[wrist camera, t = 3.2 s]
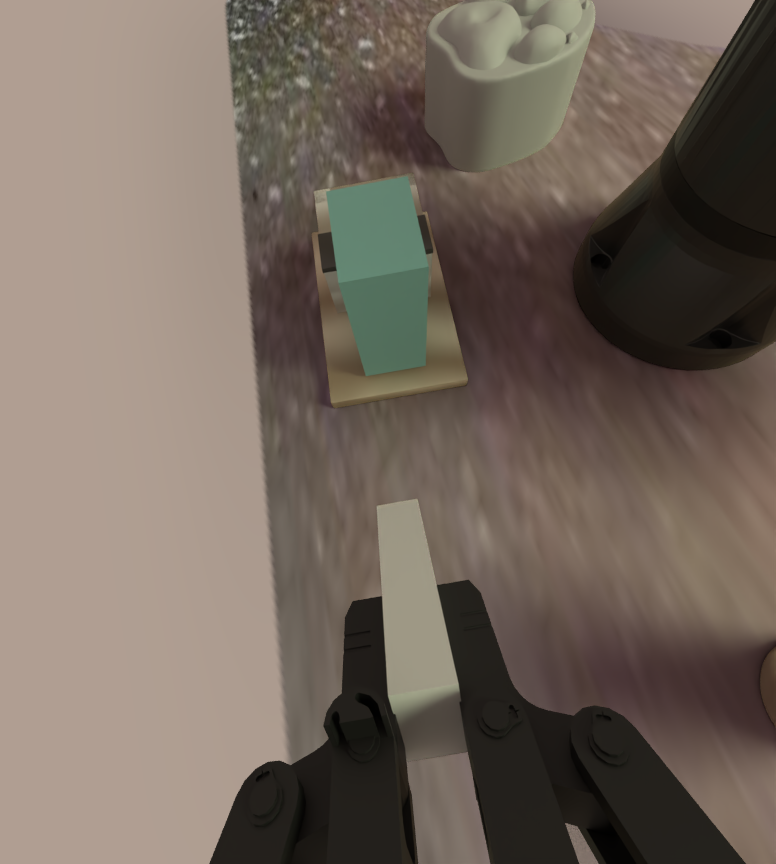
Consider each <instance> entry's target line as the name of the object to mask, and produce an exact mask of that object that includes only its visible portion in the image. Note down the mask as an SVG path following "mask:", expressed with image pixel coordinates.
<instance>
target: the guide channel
mask: <svg viewBox="0 0 776 864" xmlns="http://www.w3.org/2000/svg"><path fill="white" fill-rule="evenodd" d="M405 176H408V180H409V184H410V188H411V192H412V197H413V201H414V205H415V210H416V214H417V218H418V223H419V227H420V231H421V235H422V240H423V244H424V248H425V253H426V257H427V261H428V266H429V276H428V307H427V339H426V366H422V367H416V368H410V369H404V370H399V371H393V372H387V373H382V374H376V375H370V376H366V375H365V372H364V368H363V365H362V361H361V358H360V355H359V351H358V348H357V344H356V341H355V338H354V334H353V331H352V327H351V324H350V321H349V317H348V314H347V310H346V307H345V304H344V300H343V297H342V293H341V290H340V287H339V283H338V276H337V269H336V261H335V254H334V247H333V239H332V232H331V225H330V218H329V210H328V203H327V196H326V191H331V190H336V189H341V188H347V187H352V186H357V185H363V184H368V183H373V182H379V181H384V180H389V179H395V178H400V177H405ZM314 197H315V205H316V213H317V221H318V229H319V232H314V233H312V241H313V250H314V259H315V267H316V276H317V285H318V293H319V302H320V311H321V319H322V328H323V337H324V346H325V354H326V363H327V372H328V380H329V389H330V398H331V404H332V406H333V407H334V408H339V407H344V406H350V405H356V404H362V403H368V402H373V401H379V400H385V399H391V398H396V397H402V396H408V395H414V394H419V393H425V392H431V391H437V390H442V389H448V388H454V387H460V386H466V385H467V381H468V377H467V373H466V369H465V365H464V361H463V357H462V353H461V349H460V345H459V341H458V337H457V332H456V328H455V324H454V320H453V316H452V312H451V308H450V304H449V300H448V296H447V292H446V288H445V283H444V279H443V275H442V271H441V267H440V263H439V259H438V255H437V251H436V247H435V243H434V239H433V234H432V230H431V226H430V222H429V218H428V214H427V212H422V208H421V204H420V200H419V196H418V192H417V187H416V183H415V179H414V175H413V173H409V174H403V175H398V176H393V177H387V178H382V179H377V180H371V181H366V182H361V183H355V184H350V185H345V186H339V187H334V188H329V189H323V190H318V191H314Z"/></svg>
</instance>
